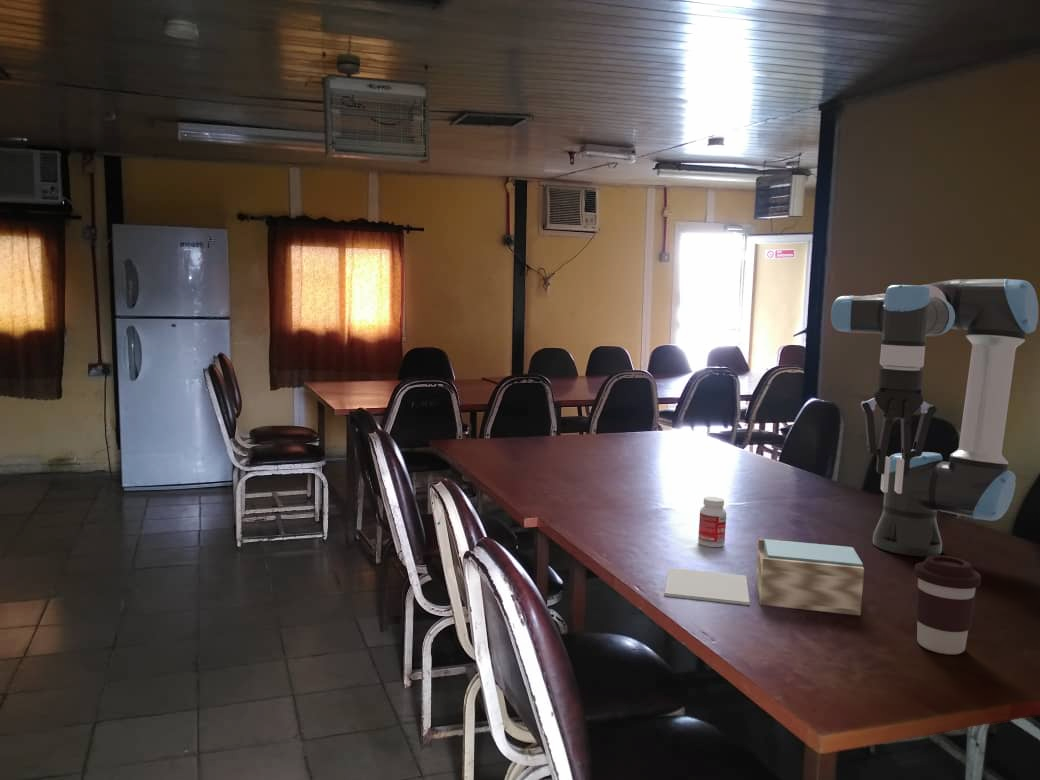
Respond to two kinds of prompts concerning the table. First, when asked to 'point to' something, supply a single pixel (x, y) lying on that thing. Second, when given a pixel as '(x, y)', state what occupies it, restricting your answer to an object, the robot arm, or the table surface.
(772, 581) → the box
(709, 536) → the pill bottle
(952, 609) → the coffee cup
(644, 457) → the table surface
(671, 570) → the mat
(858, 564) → the lid
